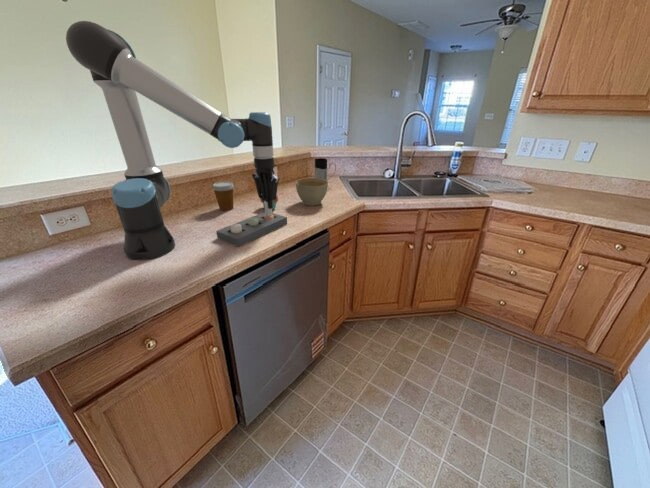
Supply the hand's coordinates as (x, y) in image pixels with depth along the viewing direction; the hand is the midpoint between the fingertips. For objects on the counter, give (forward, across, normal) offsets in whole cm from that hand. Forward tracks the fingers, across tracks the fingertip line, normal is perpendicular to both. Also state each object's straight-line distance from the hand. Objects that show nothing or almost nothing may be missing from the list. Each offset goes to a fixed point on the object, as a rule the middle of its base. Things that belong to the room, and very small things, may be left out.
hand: (268, 215), depth 118 cm
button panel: (+4, 0, +8) cm, 9 cm away
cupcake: (+4, +14, -14) cm, 21 cm away
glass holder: (+4, +17, -66) cm, 68 cm away
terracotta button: (+4, 0, 0) cm, 4 cm away
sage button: (+2, 0, +8) cm, 9 cm away
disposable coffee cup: (+4, +30, -2) cm, 30 cm away
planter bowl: (+4, +2, -32) cm, 33 cm away
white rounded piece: (+2, 0, +17) cm, 17 cm away
